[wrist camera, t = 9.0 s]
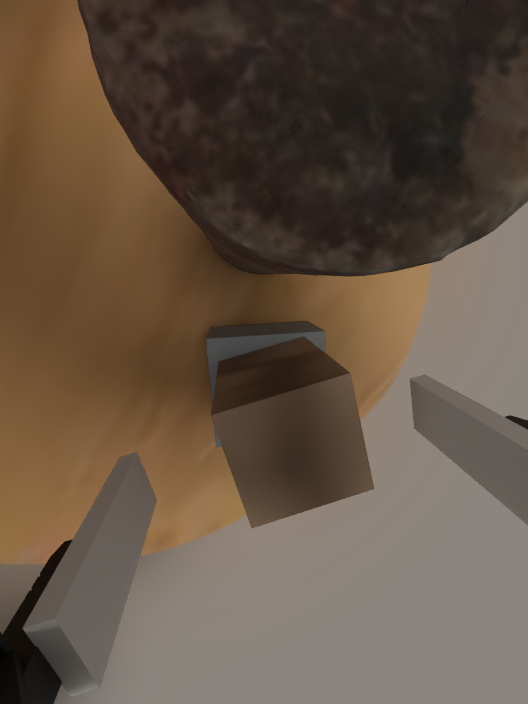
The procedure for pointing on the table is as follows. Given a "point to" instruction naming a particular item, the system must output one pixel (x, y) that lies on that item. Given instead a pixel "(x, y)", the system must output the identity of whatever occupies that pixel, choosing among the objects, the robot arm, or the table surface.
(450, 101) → the candle
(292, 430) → the walnut block
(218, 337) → the base block
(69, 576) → the robot arm
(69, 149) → the table surface
